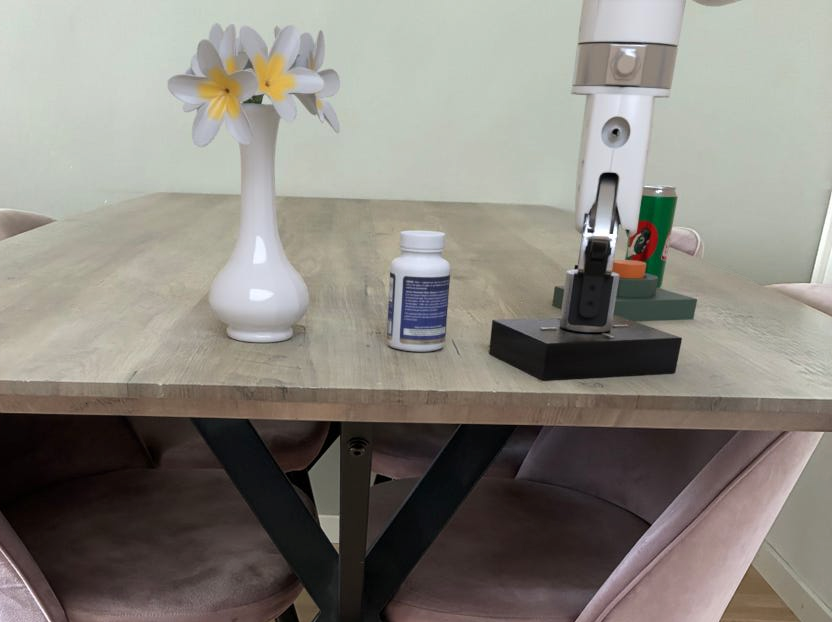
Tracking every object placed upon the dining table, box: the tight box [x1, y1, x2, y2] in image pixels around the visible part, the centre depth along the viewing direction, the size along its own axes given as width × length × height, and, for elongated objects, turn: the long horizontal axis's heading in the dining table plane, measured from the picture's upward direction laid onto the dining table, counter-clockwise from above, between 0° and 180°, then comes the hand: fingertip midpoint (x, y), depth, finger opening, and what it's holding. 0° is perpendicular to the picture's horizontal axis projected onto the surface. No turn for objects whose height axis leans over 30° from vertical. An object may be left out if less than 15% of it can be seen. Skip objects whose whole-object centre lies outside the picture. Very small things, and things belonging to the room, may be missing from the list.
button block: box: [551, 273, 698, 322], centre depth 106 cm, size 12×10×4 cm
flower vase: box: [167, 22, 341, 344], centre depth 83 cm, size 13×18×25 cm
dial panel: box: [488, 316, 683, 382], centre depth 83 cm, size 13×10×3 cm
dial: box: [560, 268, 619, 333], centre depth 82 cm, size 4×4×5 cm
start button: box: [612, 259, 646, 278], centre depth 105 cm, size 4×4×2 cm
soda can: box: [624, 184, 678, 289], centre depth 119 cm, size 5×5×12 cm
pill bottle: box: [386, 229, 451, 353], centre depth 86 cm, size 5×5×10 cm
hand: (586, 317), depth 82 cm, fingers closed on dial, 4 cm apart
